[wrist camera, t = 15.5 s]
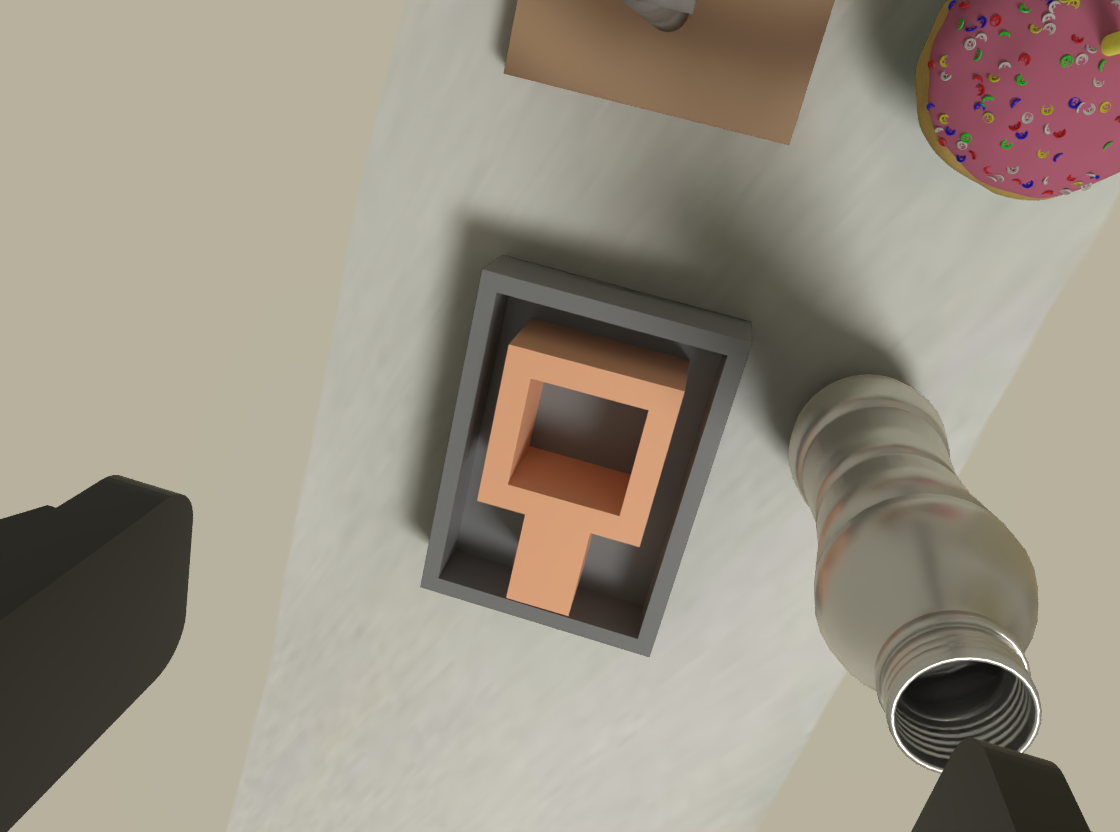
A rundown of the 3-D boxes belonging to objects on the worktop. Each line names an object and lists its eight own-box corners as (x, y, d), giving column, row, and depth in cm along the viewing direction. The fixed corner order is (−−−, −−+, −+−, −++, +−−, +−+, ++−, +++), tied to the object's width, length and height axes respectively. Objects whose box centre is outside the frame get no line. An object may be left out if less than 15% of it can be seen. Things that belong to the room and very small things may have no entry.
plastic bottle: (761, 465, 42) (783, 764, 23) (825, 337, 39) (906, 560, 21) (889, 517, 42) (1014, 860, 23) (962, 391, 39) (1168, 666, 20)
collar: (531, 318, 41) (508, 344, 37) (689, 359, 40) (684, 391, 36) (485, 538, 45) (460, 584, 41) (626, 579, 45) (615, 630, 40)
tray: (502, 254, 41) (482, 269, 37) (750, 321, 40) (752, 342, 36) (441, 552, 47) (420, 586, 44) (655, 617, 46) (649, 657, 42)
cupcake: (1051, -104, 32) (1218, -204, 21) (1183, 79, 33) (1405, 76, 22) (853, 67, 35) (908, 58, 24) (979, 229, 37) (1086, 292, 25)
